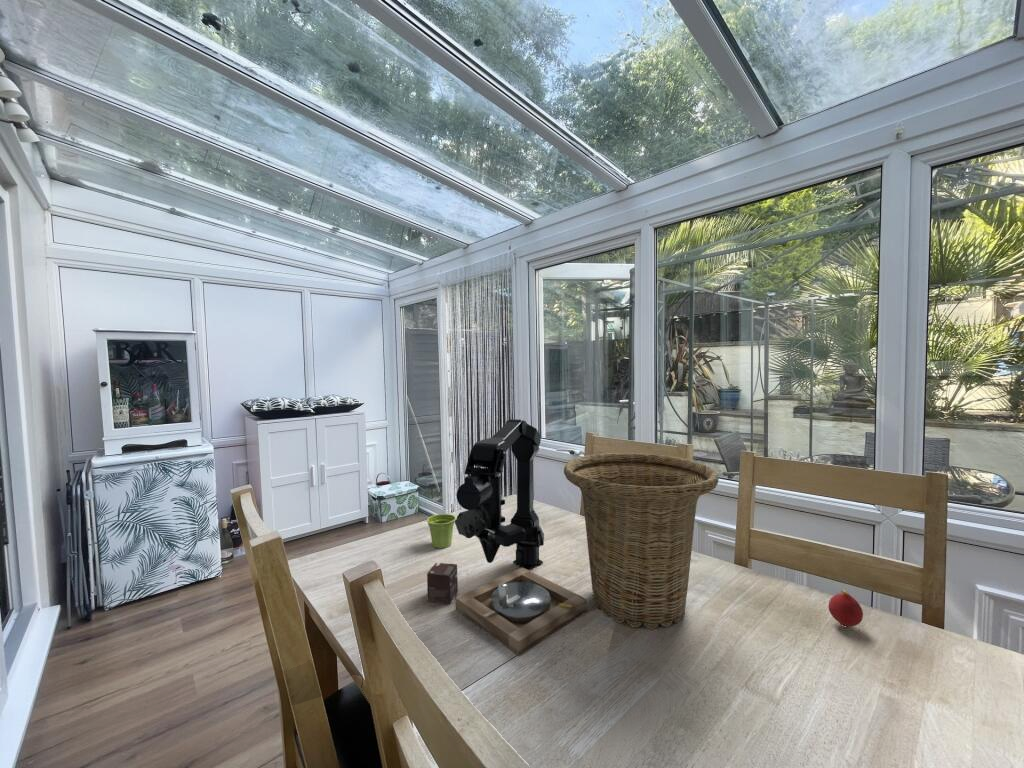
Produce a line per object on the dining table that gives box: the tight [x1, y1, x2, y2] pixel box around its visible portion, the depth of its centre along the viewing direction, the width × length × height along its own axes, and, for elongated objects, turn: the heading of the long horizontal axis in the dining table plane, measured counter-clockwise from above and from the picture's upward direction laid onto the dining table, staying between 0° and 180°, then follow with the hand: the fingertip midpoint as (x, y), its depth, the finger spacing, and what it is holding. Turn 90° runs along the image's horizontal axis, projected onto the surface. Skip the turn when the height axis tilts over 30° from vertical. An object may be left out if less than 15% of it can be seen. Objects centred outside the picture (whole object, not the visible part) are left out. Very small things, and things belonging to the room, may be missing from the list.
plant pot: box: [426, 513, 457, 549], centre depth 136 cm, size 9×9×9 cm
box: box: [426, 562, 459, 605], centre depth 105 cm, size 6×6×7 cm
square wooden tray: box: [454, 567, 588, 657], centre depth 98 cm, size 22×22×3 cm
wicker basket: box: [563, 452, 719, 630], centre depth 101 cm, size 35×35×33 cm
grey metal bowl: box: [491, 582, 551, 624], centre depth 98 cm, size 14×14×7 cm
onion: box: [827, 589, 864, 628], centre depth 91 cm, size 6×6×8 cm
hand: (490, 562), depth 98 cm, fingers closed
